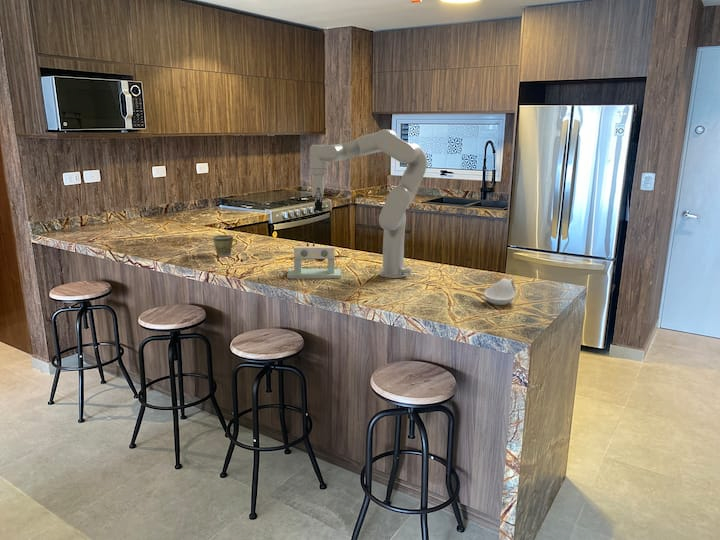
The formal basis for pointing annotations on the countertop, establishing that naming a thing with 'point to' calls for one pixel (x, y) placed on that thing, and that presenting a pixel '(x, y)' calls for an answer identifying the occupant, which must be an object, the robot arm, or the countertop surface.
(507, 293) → the spoon rest
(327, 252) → the cream rectangular beam
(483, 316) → the countertop surface
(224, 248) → the ceramic cup
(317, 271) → the display stand
